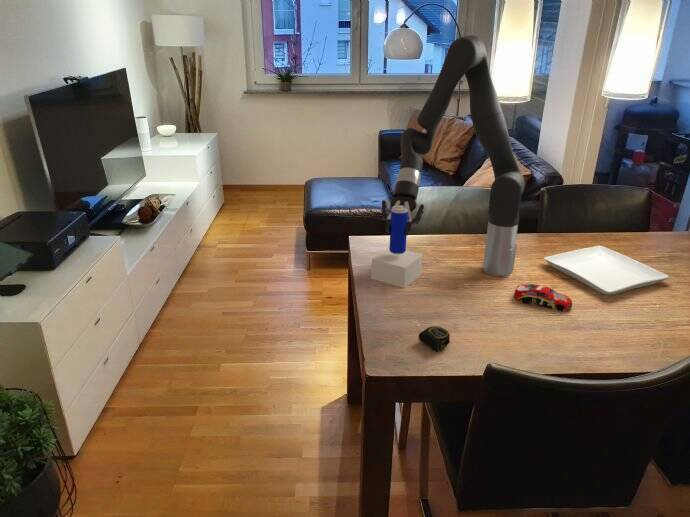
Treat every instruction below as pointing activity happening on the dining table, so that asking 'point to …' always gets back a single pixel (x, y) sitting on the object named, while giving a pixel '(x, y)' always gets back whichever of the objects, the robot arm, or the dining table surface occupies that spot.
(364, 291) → the dining table surface
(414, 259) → the plain grey cuboid
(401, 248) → the beverage can
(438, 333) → the tape measure
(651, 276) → the square plate
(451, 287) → the dining table surface
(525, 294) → the race car
